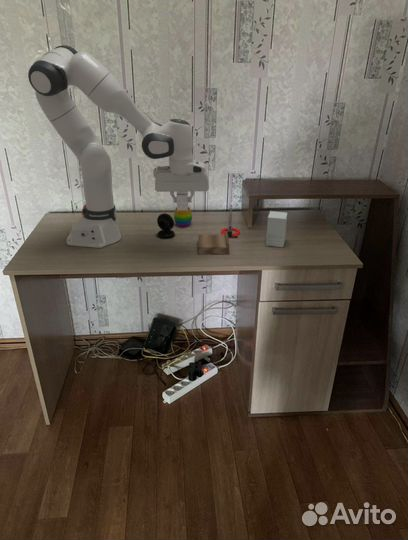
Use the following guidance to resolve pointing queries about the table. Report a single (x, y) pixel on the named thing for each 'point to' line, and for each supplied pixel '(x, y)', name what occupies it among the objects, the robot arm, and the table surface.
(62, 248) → the table surface
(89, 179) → the robot arm
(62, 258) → the table surface
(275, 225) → the supplement box
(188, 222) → the decorative egg
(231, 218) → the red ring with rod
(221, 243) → the wooden tray
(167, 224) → the webcam
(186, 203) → the aluminium block
